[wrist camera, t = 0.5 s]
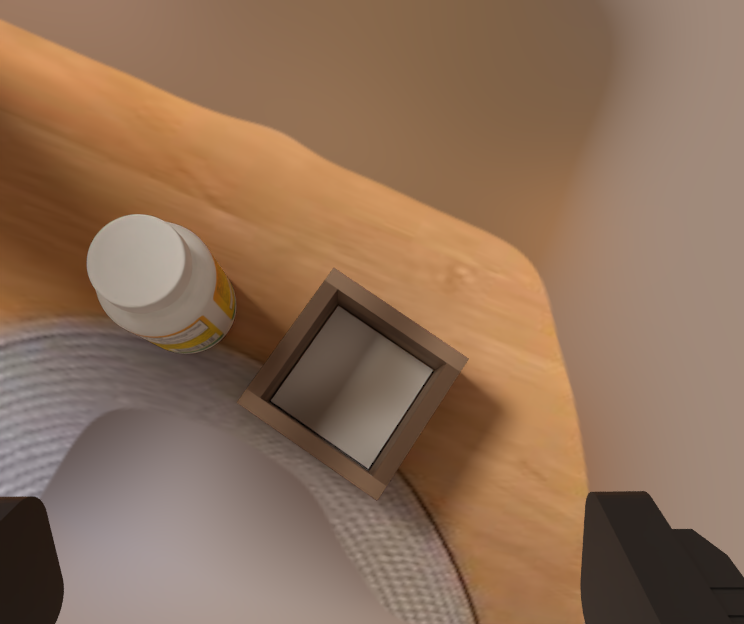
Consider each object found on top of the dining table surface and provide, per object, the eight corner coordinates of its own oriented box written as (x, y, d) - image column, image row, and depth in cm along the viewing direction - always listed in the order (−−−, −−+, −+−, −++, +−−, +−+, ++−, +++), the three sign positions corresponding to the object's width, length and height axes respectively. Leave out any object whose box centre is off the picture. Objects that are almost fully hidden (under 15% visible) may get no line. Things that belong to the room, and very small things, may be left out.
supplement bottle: (205, 372, 34) (154, 350, 24) (122, 324, 34) (40, 284, 25) (256, 289, 35) (226, 238, 25) (176, 244, 35) (116, 175, 26)
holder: (248, 405, 33) (236, 402, 30) (334, 285, 35) (333, 267, 31) (372, 492, 33) (377, 500, 29) (454, 366, 35) (468, 358, 31)
